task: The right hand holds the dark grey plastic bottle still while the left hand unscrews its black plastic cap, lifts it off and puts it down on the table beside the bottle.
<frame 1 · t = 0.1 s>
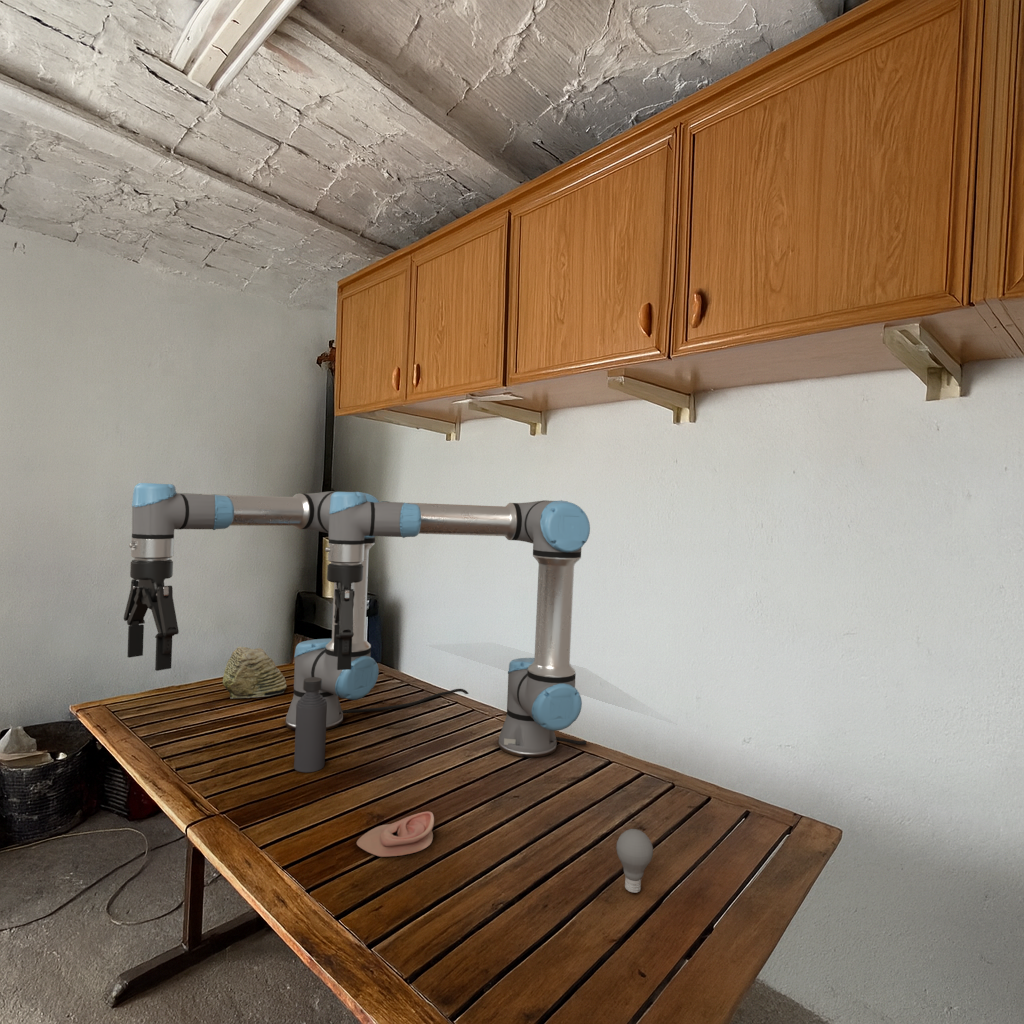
left hand: (148, 662, 129), 28 cm above the table, tool pointing down, fingers open, 13 cm apart
right hand: (341, 661, 137), 28 cm above the table, tool pointing down, fingers open, 13 cm apart
fossil: (254, 694, 198), on the table
light bulb: (632, 891, 106), on the table
cap: (312, 680, 148), point 20 cm above the table, screwed on, not yet turned
bottle: (309, 766, 148), on the table
anatomical model: (395, 841, 118), on the table
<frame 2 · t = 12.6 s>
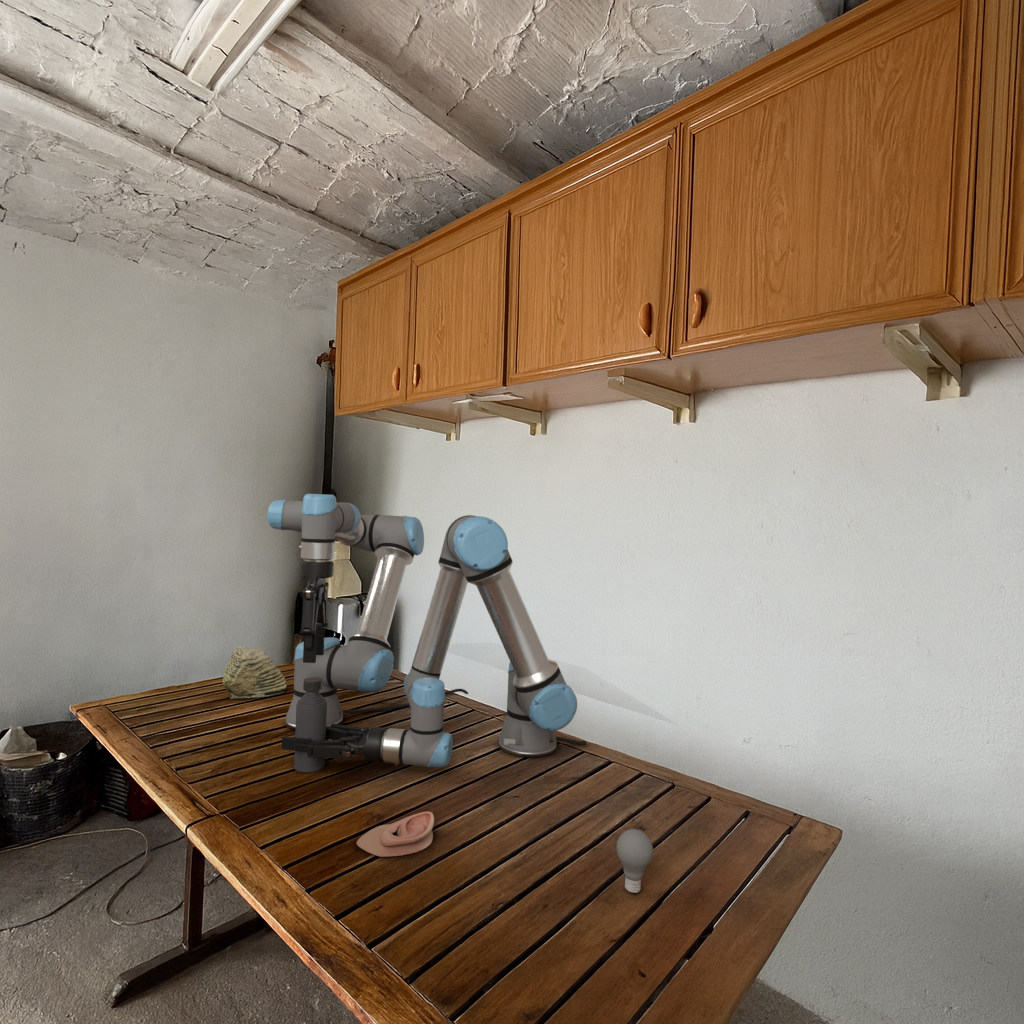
left hand: (313, 658, 148), 25 cm above the table, tool pointing down, fingers open, 6 cm apart
right hand: (290, 737, 149), 7 cm above the table, tool horizontal, fingers closed on bottle, 7 cm apart
bottle: (309, 766, 148), on the table, touching right hand
everything else where it was.
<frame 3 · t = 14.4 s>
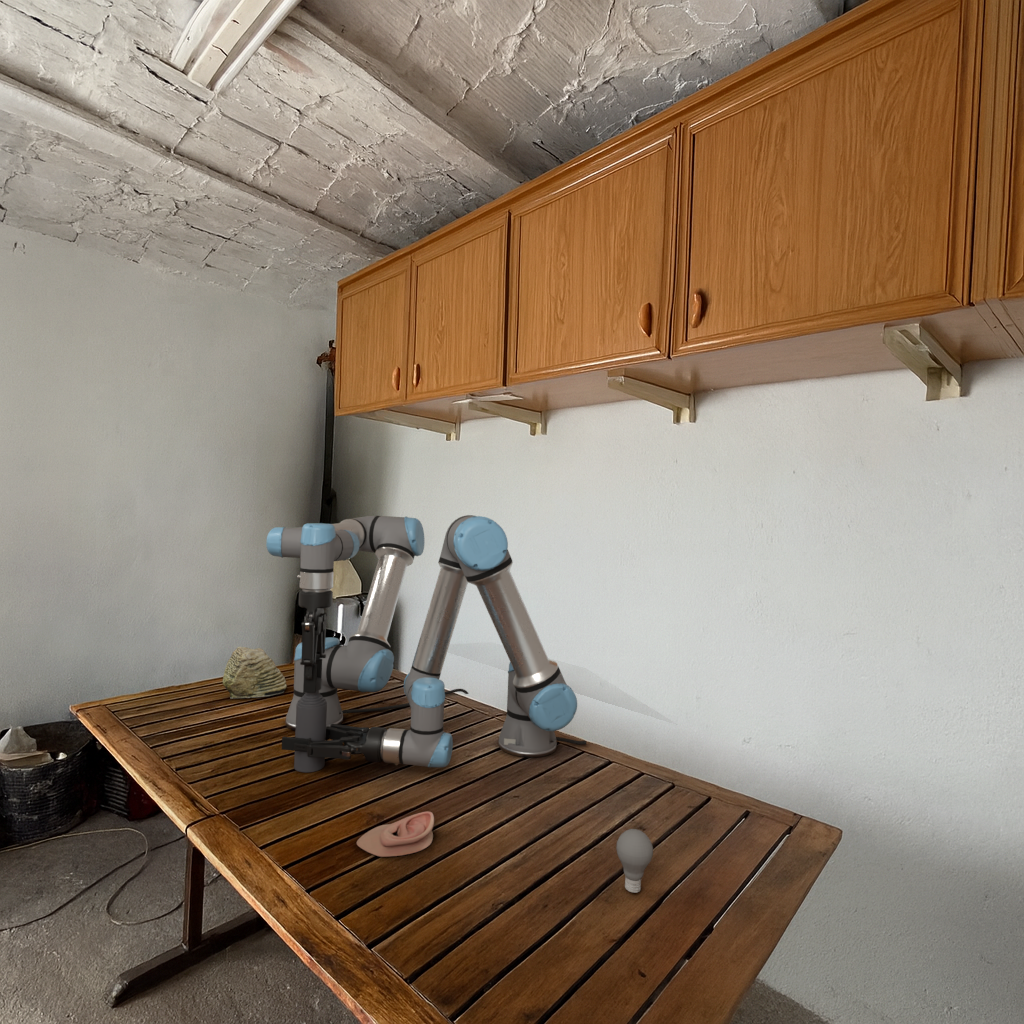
left hand: (312, 689, 148), 18 cm above the table, tool pointing down, fingers closed on cap, 4 cm apart
right hand: (290, 737, 149), 6 cm above the table, tool horizontal, fingers closed on bottle, 7 cm apart
cap: (312, 680, 148), point 20 cm above the table, screwed on, not yet turned, touching left hand
bottle: (309, 766, 148), on the table, touching right hand
everything else where it was.
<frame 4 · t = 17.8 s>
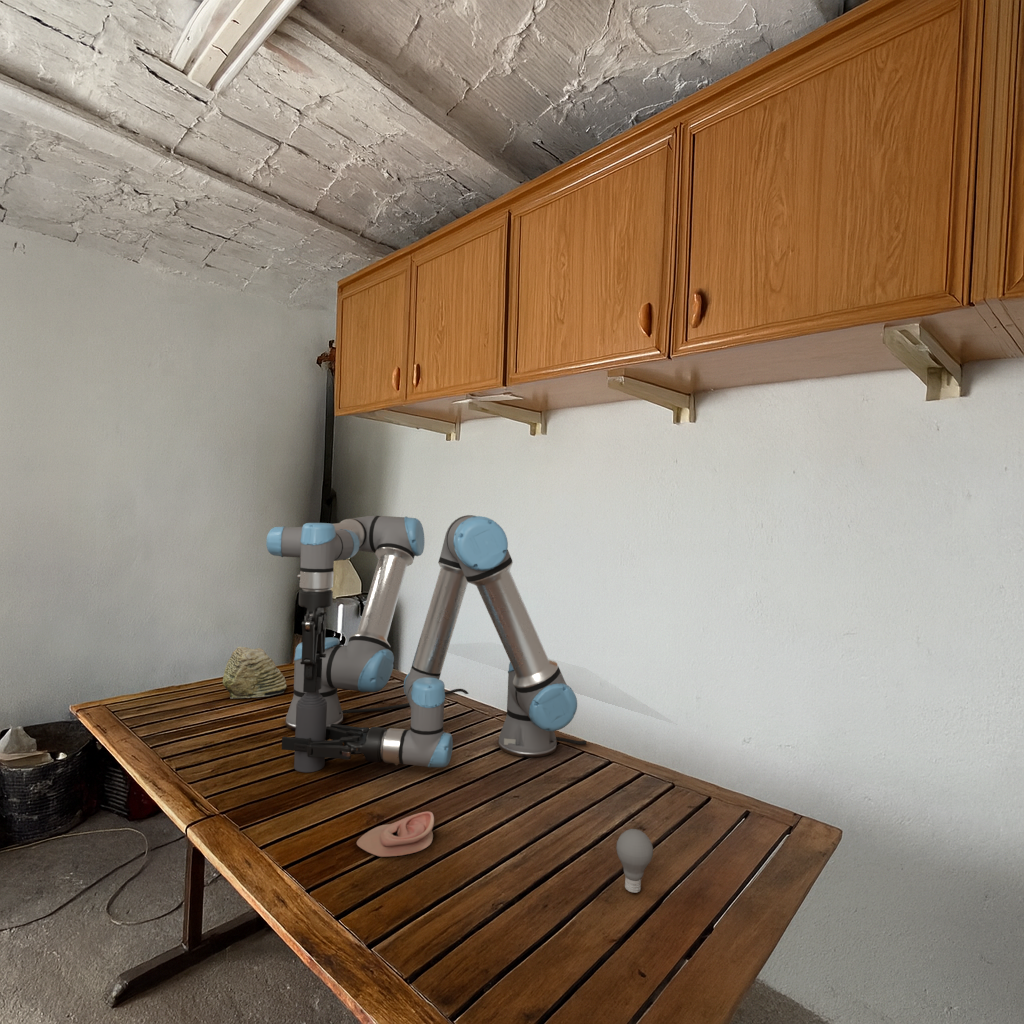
left hand: (312, 688, 148), 18 cm above the table, tool pointing down, fingers closed on cap, 4 cm apart
right hand: (290, 737, 149), 6 cm above the table, tool horizontal, fingers closed on bottle, 7 cm apart
cap: (312, 680, 148), point 20 cm above the table, turned 107° so far, risen 0.1 cm, still on its thread, touching left hand
bottle: (309, 766, 148), on the table, touching right hand
everything else where it was.
when the left hand's fingers open (1 cm above the table, at t = 30.2 s): cap drops 1 cm, point 2 cm above the table.
when the right hand's fingers open (7 cm above the table, at t = 31.5 s): bottle stays where it is, on the table.
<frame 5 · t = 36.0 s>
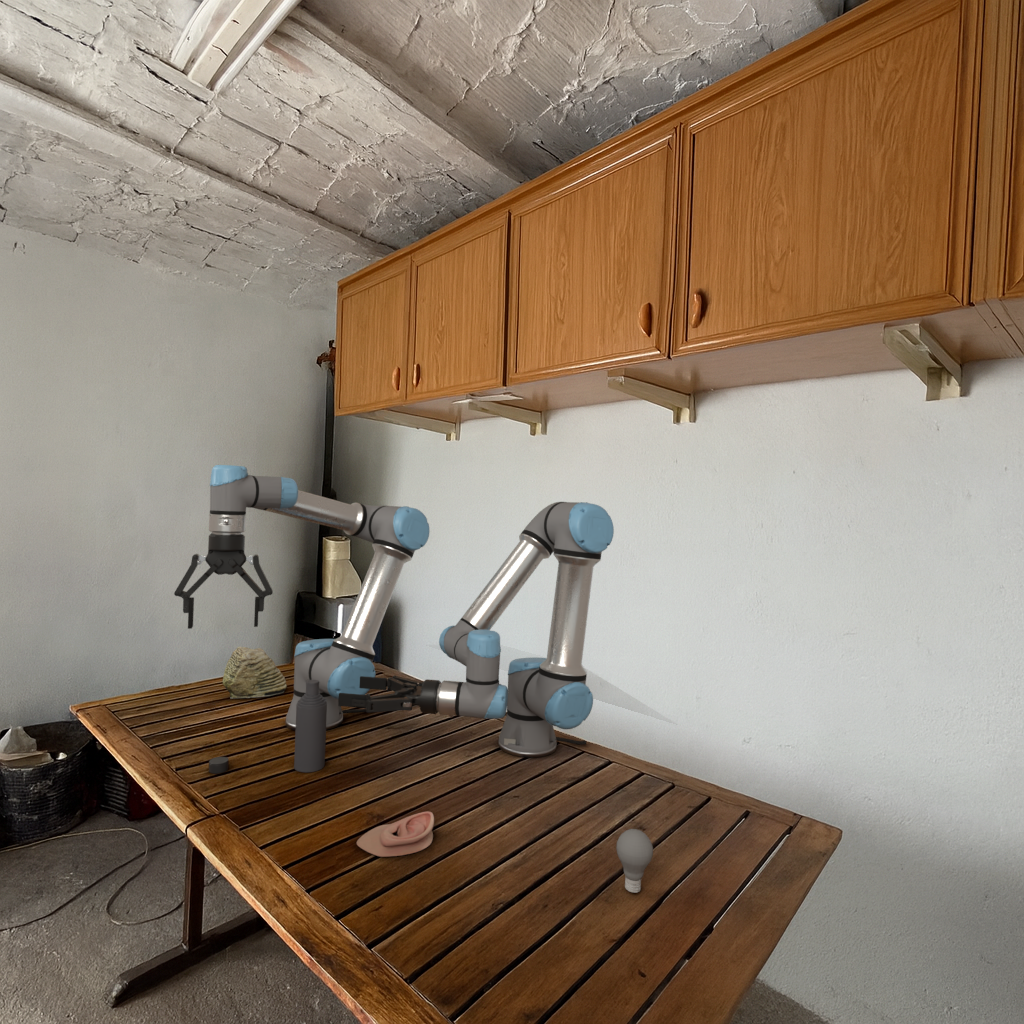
left hand: (223, 626, 144), 33 cm above the table, tool pointing down, fingers open, 13 cm apart
right hand: (349, 690, 147), 19 cm above the table, tool horizontal, fingers open, 13 cm apart
cap: (218, 761, 144), point 2 cm above the table, off its thread
bottle: (309, 766, 148), on the table
everything else where it was.
at the end: cap came off its thread; cap point 1.9 cm above the table; the left hand is holding nothing; the right hand is holding nothing; bottle tilted 0°; bottle moved 0.0 cm from its start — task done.
